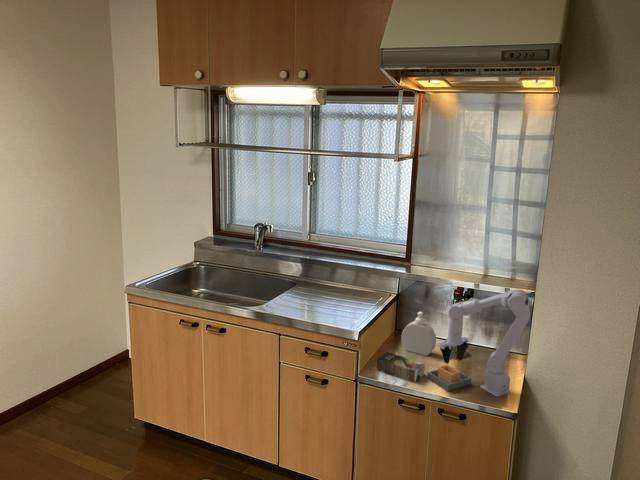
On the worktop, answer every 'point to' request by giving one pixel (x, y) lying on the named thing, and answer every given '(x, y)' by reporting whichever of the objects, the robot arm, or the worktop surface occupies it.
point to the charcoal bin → (463, 382)
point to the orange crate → (448, 374)
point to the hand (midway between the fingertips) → (452, 360)
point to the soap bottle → (419, 336)
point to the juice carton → (401, 366)
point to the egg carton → (455, 352)
